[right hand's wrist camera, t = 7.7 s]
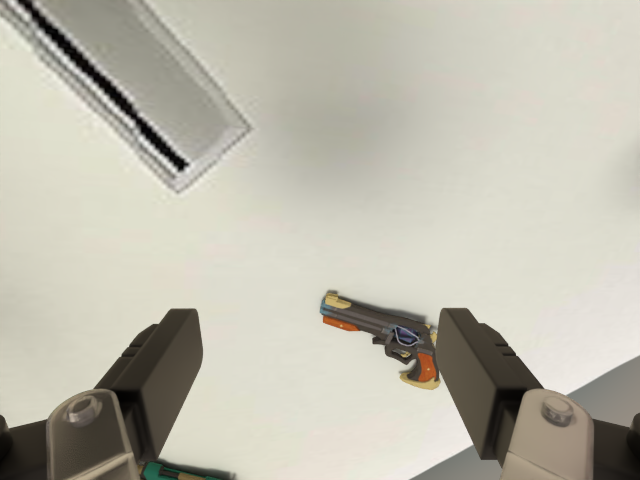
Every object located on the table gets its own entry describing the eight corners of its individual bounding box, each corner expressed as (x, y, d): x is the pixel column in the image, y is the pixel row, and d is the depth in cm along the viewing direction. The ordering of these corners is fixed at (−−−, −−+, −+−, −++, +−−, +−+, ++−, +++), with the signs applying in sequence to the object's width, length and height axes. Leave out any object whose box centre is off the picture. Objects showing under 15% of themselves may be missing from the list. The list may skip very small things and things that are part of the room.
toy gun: (437, 396, 47) (472, 343, 43) (303, 356, 47) (325, 298, 42) (433, 381, 50) (465, 329, 45) (306, 342, 49) (327, 286, 45)
